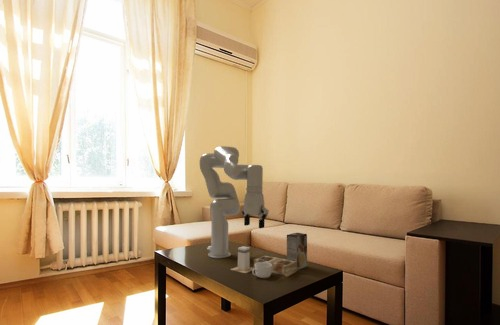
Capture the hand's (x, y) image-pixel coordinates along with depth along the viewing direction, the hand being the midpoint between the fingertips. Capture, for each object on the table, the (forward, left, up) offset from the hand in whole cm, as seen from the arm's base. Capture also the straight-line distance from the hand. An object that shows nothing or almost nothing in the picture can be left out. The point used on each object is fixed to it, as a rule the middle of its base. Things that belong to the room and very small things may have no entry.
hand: (254, 226), depth 138 cm
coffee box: (+14, +17, -21) cm, 31 cm away
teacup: (+8, -6, -21) cm, 23 cm away
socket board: (+8, +6, -21) cm, 23 cm away
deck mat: (-4, -3, -21) cm, 21 cm away
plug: (-4, -3, -20) cm, 21 cm away
